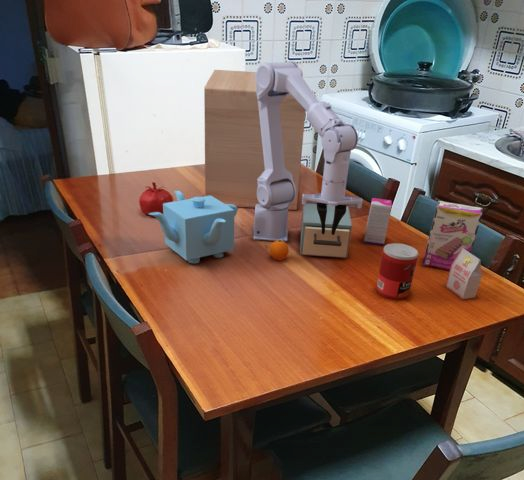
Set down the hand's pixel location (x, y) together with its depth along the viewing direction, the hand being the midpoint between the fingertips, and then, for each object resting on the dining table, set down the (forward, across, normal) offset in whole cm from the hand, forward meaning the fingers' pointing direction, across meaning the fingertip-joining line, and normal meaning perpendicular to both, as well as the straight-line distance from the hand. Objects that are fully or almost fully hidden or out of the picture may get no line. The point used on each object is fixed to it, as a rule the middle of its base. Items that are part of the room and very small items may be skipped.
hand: (327, 233), depth 138 cm
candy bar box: (+9, +32, +4) cm, 33 cm away
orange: (+6, -12, +1) cm, 13 cm away
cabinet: (+8, 0, +12) cm, 15 cm away
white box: (+9, +33, -10) cm, 36 cm away
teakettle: (+9, -34, 0) cm, 35 cm away
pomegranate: (+9, -50, +27) cm, 57 cm away
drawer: (+8, 0, +7) cm, 11 cm away
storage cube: (+9, -23, +54) cm, 59 cm away
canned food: (+9, +16, -13) cm, 23 cm away
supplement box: (+9, +15, +18) cm, 25 cm away
